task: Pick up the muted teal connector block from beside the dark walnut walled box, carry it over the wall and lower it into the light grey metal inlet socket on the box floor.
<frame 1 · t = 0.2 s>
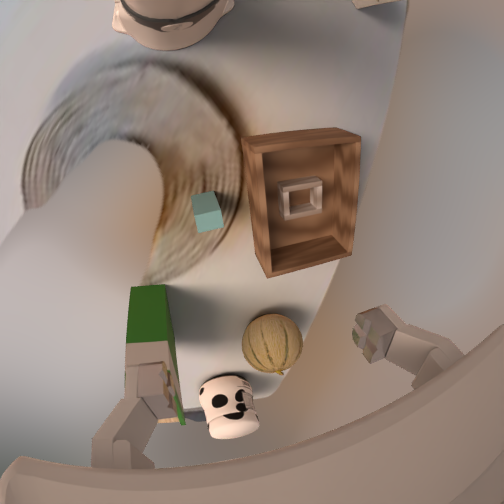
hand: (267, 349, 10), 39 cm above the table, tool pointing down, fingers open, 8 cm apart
walled box: (294, 192, 51), on the table
cantaloupe: (263, 321, 70), on the table
milk container: (222, 383, 83), on the table
teal connector: (203, 200, 47), on the table
hardback book: (154, 314, 59), on the table
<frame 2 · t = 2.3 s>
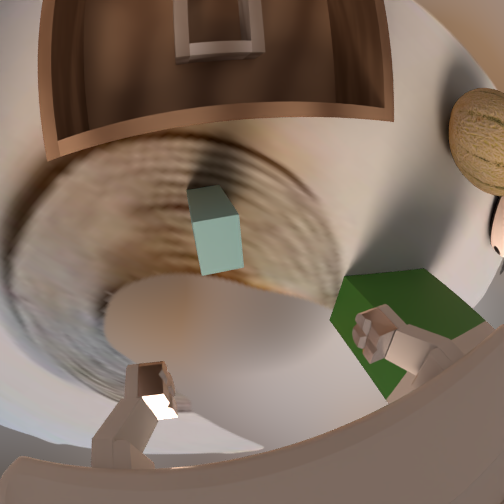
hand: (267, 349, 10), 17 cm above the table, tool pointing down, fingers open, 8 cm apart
walled box: (211, 26, 17), on the table
cantaloupe: (454, 130, 28), on the table
milk container: (499, 212, 42), on the table
teal connector: (205, 207, 25), on the table
hardback book: (381, 292, 38), on the table
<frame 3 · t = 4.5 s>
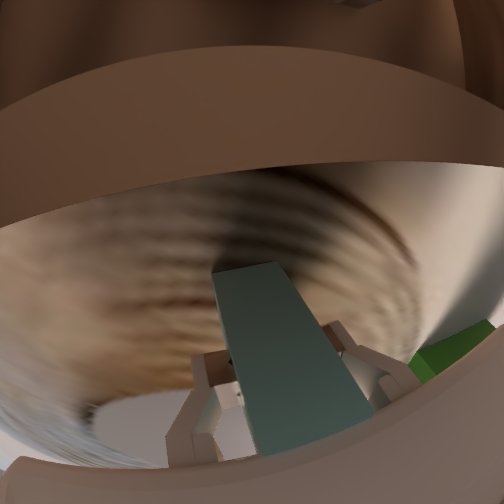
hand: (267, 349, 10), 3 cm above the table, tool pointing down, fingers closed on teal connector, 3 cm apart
teal connector: (248, 302, 13), on the table, touching gripper
hardback book: (443, 353, 26), on the table
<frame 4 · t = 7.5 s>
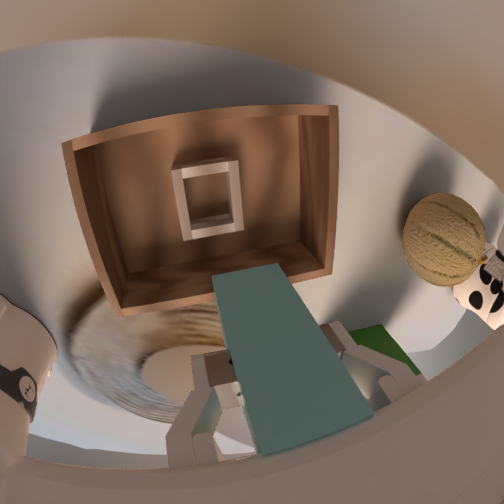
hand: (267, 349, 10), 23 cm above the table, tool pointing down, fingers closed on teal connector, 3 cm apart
walled box: (205, 191, 30), on the table
cantaloupe: (414, 221, 41), on the table
milk container: (466, 266, 54), on the table
teal connector: (248, 304, 13), point 20 cm above the table, touching gripper
hardback book: (342, 344, 51), on the table
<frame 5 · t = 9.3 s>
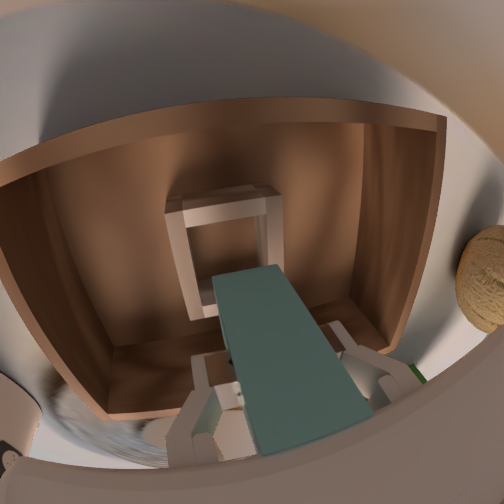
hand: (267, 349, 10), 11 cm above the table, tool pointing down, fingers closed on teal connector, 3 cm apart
walled box: (221, 235, 20), on the table
cantaloupe: (465, 254, 31), on the table
teal connector: (248, 304, 13), point 8 cm above the table, touching gripper
when the fingers open (6 cm above the table, at t = 10.6 s): teal connector drops 1 cm, resting on walled box.
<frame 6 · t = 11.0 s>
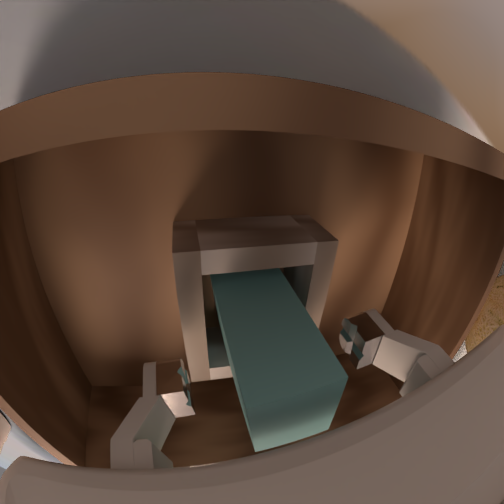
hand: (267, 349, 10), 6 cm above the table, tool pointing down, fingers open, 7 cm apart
walled box: (237, 275, 15), on the table
cantaloupe: (477, 298, 28), on the table
teal connector: (241, 287, 14), point 1 cm above the table, touching walled box
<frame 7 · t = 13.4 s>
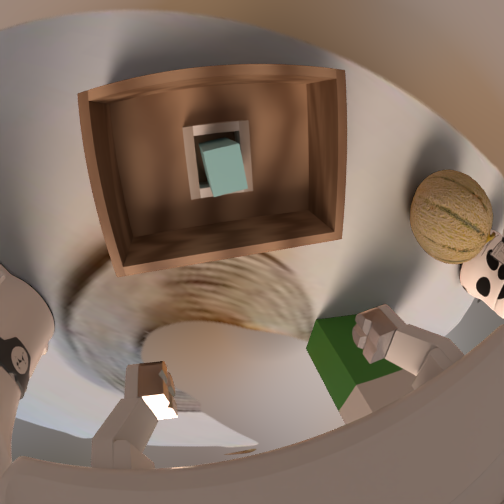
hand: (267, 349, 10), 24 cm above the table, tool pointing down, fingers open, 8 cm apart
walled box: (214, 154, 29), on the table
cantaloupe: (421, 200, 40), on the table
milk container: (472, 254, 52), on the table
teal connector: (215, 157, 29), point 1 cm above the table, touching walled box
hardback book: (349, 328, 50), on the table
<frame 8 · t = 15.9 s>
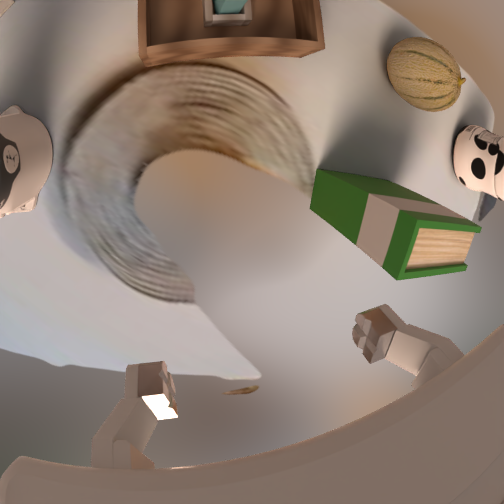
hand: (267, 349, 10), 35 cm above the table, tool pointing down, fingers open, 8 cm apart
walled box: (223, 9, 28), on the table
cantaloupe: (398, 74, 39), on the table
milk container: (463, 153, 52), on the table
teal connector: (224, 7, 28), point 1 cm above the table, touching walled box
hardback book: (352, 192, 49), on the table
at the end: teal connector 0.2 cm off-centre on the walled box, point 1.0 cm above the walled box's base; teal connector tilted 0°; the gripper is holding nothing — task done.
